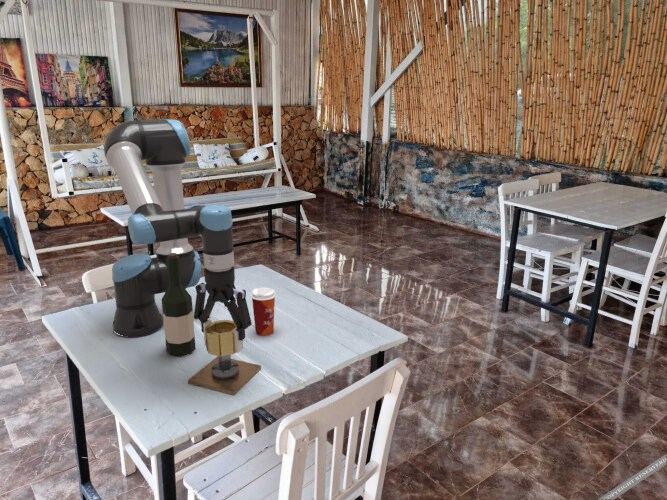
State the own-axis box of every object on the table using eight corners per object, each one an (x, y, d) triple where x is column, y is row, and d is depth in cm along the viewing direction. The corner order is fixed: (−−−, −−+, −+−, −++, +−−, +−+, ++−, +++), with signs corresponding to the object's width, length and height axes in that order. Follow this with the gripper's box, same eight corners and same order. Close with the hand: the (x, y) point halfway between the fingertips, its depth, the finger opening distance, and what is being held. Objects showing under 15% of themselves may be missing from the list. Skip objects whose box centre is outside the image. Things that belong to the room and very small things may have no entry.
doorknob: (188, 383, 139) (185, 351, 136) (218, 358, 151) (216, 328, 148) (233, 395, 134) (232, 362, 131) (261, 368, 146) (260, 338, 143)
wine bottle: (180, 359, 150) (171, 260, 141) (160, 351, 155) (150, 255, 145) (201, 348, 157) (194, 252, 148) (182, 340, 161) (174, 247, 152)
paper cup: (272, 338, 163) (271, 297, 159) (248, 336, 165) (247, 295, 160) (279, 327, 170) (278, 287, 166) (257, 325, 172) (255, 285, 167)
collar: (200, 352, 137) (198, 331, 136) (219, 337, 145) (218, 317, 143) (229, 358, 134) (227, 337, 132) (247, 343, 142) (245, 323, 140)
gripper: (174, 265, 133) (181, 345, 140) (248, 278, 126) (252, 361, 133) (192, 257, 140) (198, 333, 147) (264, 268, 132) (266, 348, 139)
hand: (224, 346), depth 140 cm, fingers closed on collar, 9 cm apart
